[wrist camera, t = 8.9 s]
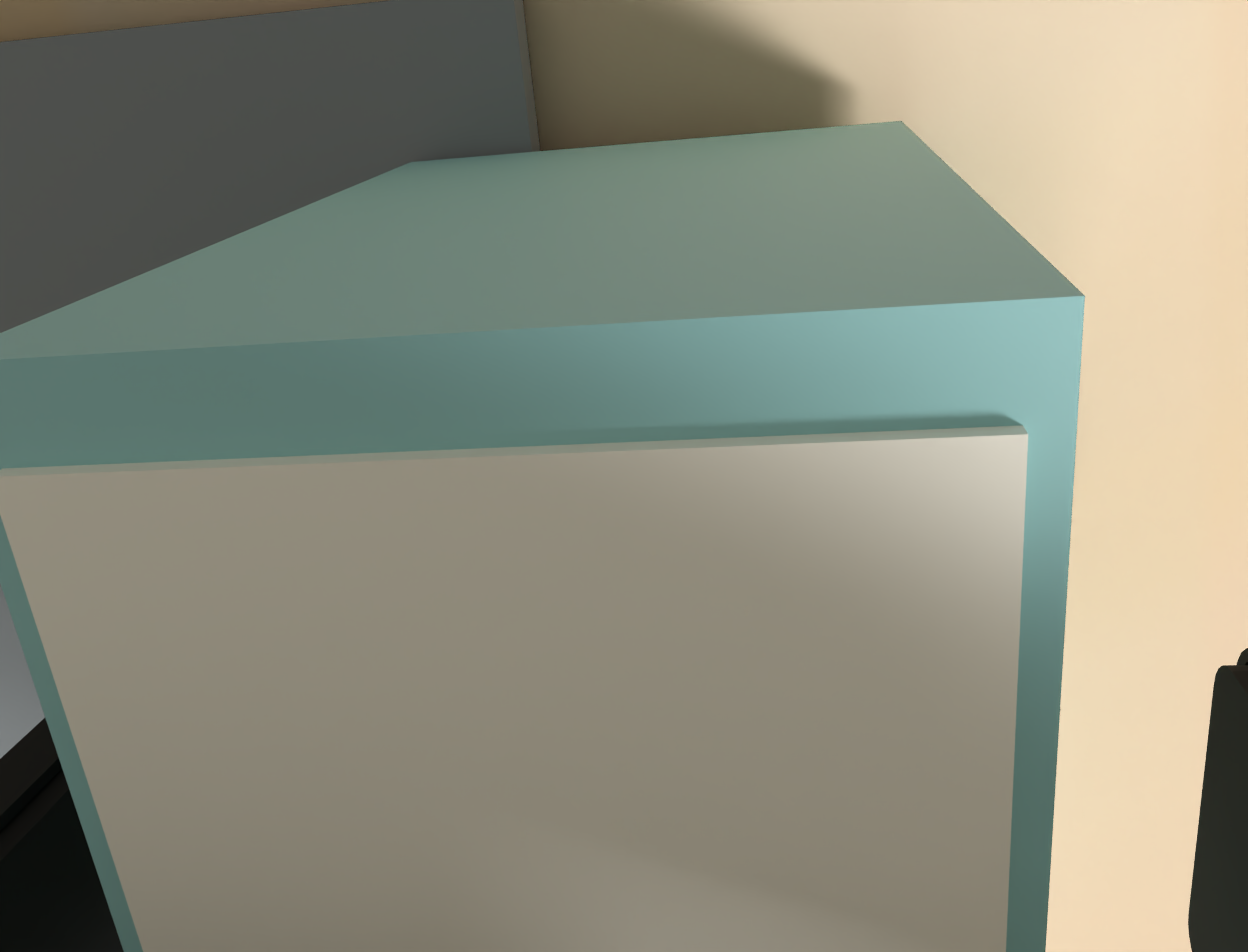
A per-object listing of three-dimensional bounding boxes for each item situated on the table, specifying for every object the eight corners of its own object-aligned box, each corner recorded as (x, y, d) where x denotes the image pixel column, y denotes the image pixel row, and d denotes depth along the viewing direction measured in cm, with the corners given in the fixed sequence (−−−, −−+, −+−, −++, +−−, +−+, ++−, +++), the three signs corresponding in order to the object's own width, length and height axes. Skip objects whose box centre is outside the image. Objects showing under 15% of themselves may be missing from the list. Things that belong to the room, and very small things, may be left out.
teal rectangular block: (901, 119, 11) (1090, 301, 4) (901, 942, 14) (1001, 1722, 8) (410, 162, 11) (-91, 370, 5) (532, 931, 15) (342, 1637, 9)
